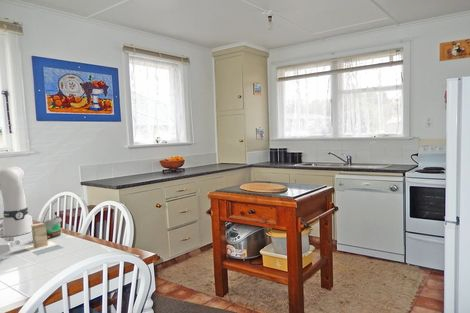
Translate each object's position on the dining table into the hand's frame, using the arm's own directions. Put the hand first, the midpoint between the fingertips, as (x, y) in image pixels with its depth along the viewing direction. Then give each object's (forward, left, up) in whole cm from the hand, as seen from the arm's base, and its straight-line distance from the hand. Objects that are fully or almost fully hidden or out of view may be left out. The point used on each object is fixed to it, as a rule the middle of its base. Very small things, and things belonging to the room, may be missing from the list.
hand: (16, 240), depth 164 cm
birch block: (0, +10, -6) cm, 12 cm away
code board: (+5, +10, -6) cm, 13 cm away
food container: (-11, +21, -6) cm, 25 cm away
